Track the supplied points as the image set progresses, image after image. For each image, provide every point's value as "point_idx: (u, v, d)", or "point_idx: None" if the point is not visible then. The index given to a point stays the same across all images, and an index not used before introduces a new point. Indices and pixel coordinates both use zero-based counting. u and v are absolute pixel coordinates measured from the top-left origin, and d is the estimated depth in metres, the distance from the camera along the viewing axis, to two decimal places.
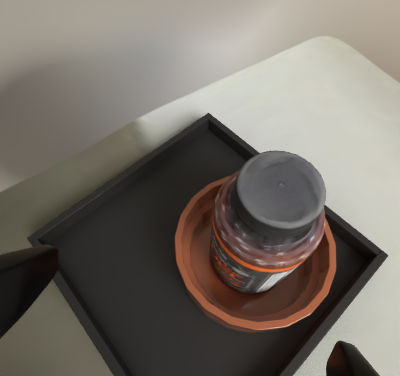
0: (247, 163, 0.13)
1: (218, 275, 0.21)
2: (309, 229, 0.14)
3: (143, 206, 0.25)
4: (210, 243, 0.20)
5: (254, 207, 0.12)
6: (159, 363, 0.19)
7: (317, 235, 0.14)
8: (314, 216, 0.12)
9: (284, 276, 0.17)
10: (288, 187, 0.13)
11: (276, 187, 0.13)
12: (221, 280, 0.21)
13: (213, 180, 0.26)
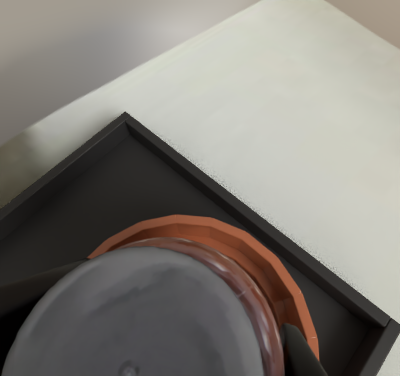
0: (44, 300, 0.05)
1: None
2: None
3: (27, 268, 0.16)
4: None
5: None
6: None
7: None
8: None
9: None
10: None
11: None
12: None
13: (135, 215, 0.18)
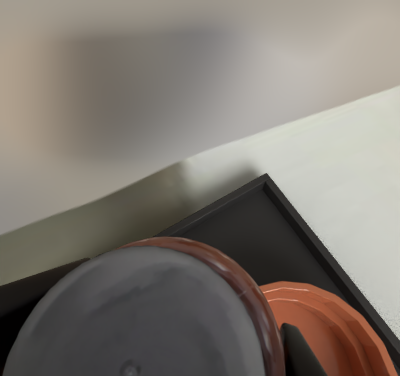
0: (46, 300, 0.05)
1: None
2: None
3: None
4: None
5: None
6: None
7: None
8: None
9: None
10: None
11: None
12: None
13: (258, 260, 0.22)
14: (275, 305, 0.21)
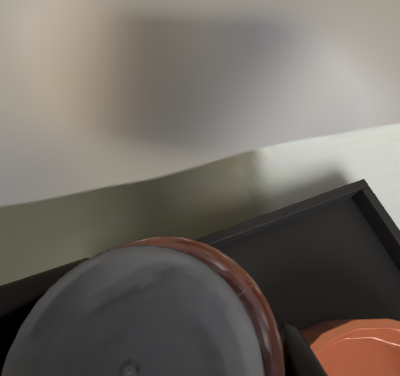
0: (45, 299, 0.05)
1: None
2: None
3: None
4: None
5: None
6: None
7: None
8: None
9: None
10: None
11: None
12: None
13: (341, 282, 0.18)
14: (360, 343, 0.17)
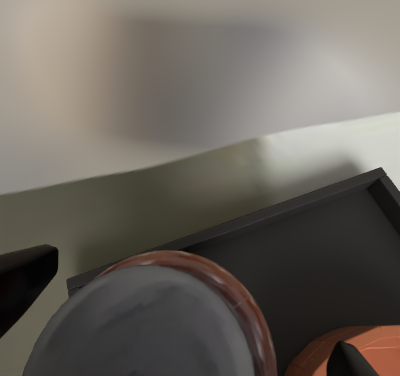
0: (58, 316, 0.05)
1: None
2: None
3: None
4: None
5: None
6: None
7: None
8: None
9: None
10: None
11: None
12: None
13: (357, 282, 0.16)
14: (381, 353, 0.14)
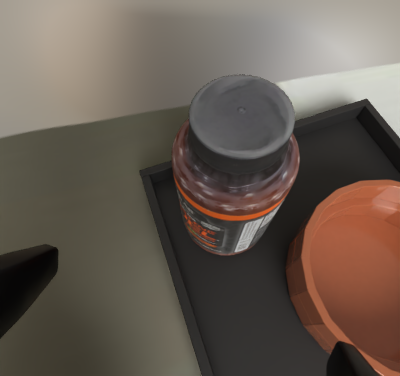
0: (200, 91, 0.11)
1: (193, 238, 0.19)
2: (280, 163, 0.12)
3: None
4: None
5: (211, 137, 0.10)
6: (239, 355, 0.17)
7: (290, 171, 0.12)
8: (282, 141, 0.10)
9: (261, 227, 0.15)
10: (249, 113, 0.11)
11: (235, 114, 0.11)
12: (197, 244, 0.19)
13: (348, 178, 0.22)
14: (365, 219, 0.20)
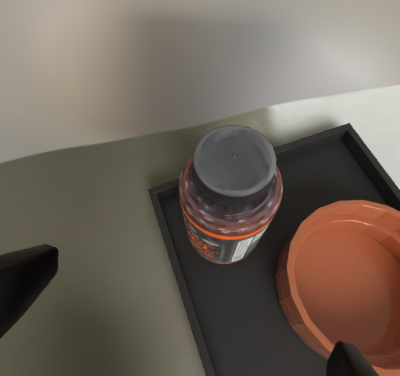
0: (202, 139, 0.14)
1: (195, 249, 0.22)
2: (266, 196, 0.15)
3: None
4: None
5: (210, 179, 0.13)
6: (234, 349, 0.20)
7: (274, 201, 0.15)
8: (265, 182, 0.13)
9: (252, 243, 0.18)
10: (241, 159, 0.14)
11: (230, 159, 0.14)
12: (199, 254, 0.22)
13: (332, 194, 0.25)
14: (345, 231, 0.23)
